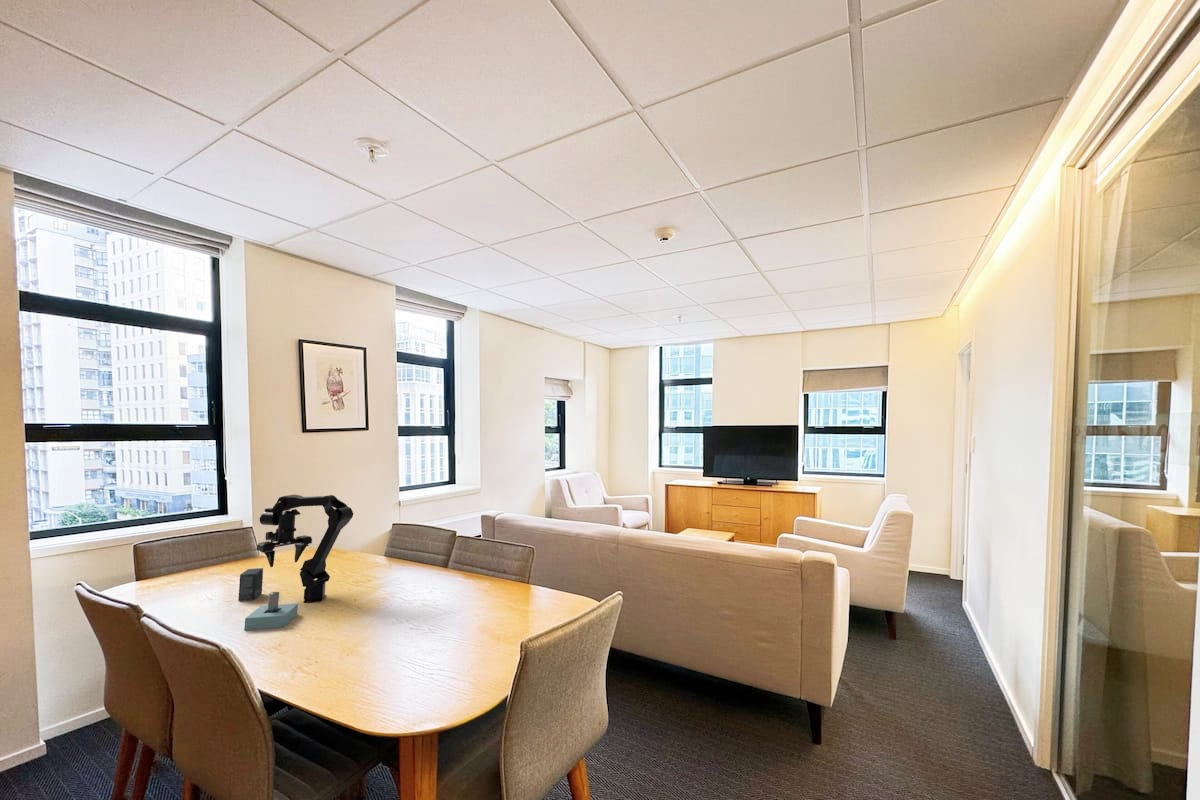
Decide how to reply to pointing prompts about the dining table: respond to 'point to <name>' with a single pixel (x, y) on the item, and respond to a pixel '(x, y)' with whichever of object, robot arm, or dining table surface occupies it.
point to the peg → (273, 602)
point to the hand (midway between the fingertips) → (283, 564)
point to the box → (250, 584)
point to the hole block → (271, 617)
